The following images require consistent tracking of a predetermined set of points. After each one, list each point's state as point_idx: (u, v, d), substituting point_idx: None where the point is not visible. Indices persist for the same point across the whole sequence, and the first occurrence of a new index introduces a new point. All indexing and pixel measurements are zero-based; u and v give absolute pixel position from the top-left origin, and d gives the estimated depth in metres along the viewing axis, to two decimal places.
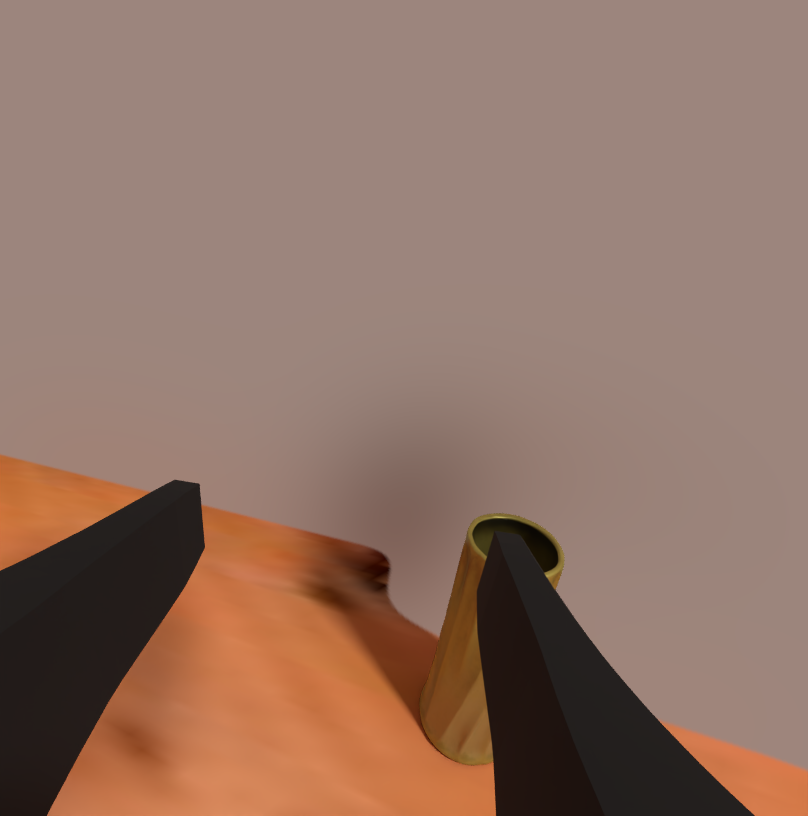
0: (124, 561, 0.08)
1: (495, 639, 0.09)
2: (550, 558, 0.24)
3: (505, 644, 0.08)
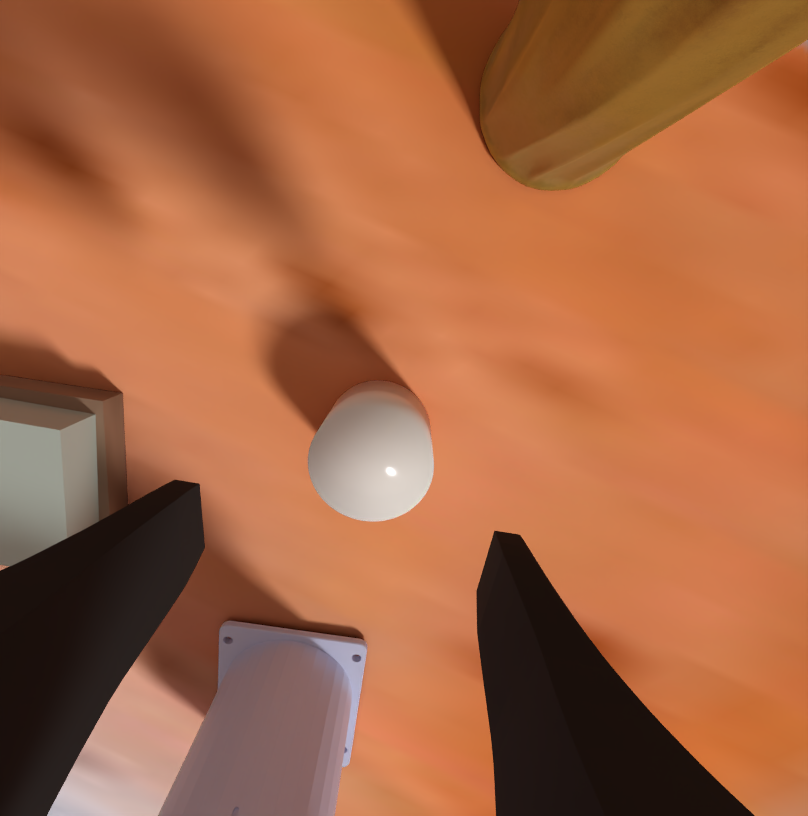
0: (124, 561, 0.08)
1: (495, 639, 0.09)
2: None
3: (505, 644, 0.08)
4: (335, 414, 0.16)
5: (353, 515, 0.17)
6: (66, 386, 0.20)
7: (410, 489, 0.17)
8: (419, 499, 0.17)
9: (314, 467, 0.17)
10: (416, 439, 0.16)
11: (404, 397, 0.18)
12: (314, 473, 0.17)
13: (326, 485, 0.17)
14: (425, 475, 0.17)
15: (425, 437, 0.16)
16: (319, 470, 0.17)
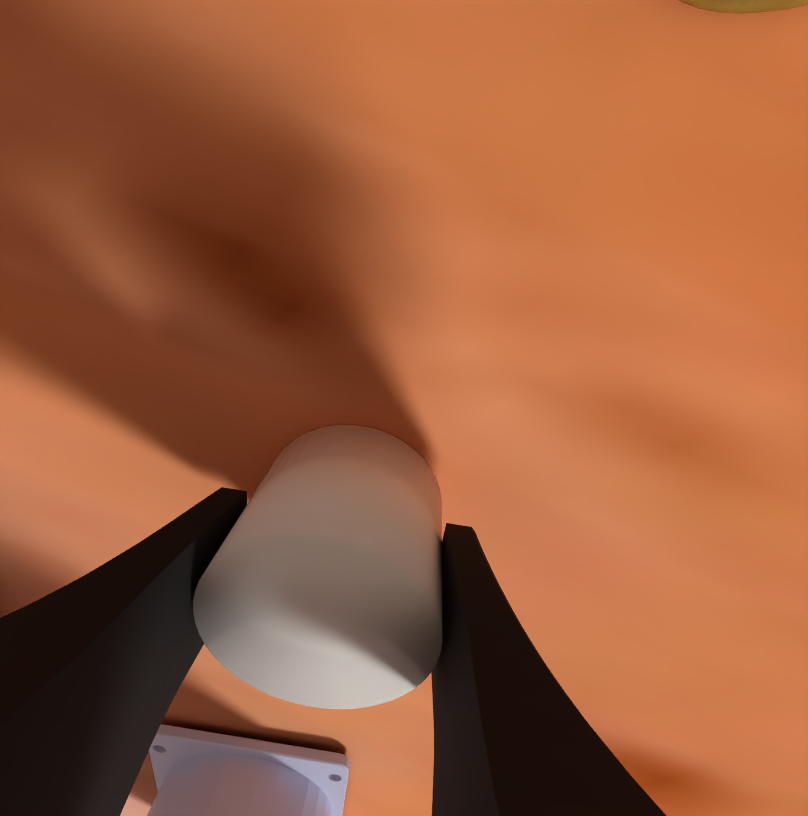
0: (185, 571, 0.08)
1: None
2: None
3: (447, 635, 0.08)
4: (236, 544, 0.08)
5: (292, 699, 0.09)
6: None
7: (396, 670, 0.09)
8: (414, 685, 0.09)
9: (209, 628, 0.09)
10: (406, 596, 0.08)
11: (390, 476, 0.09)
12: (210, 637, 0.09)
13: (236, 656, 0.09)
14: (425, 653, 0.08)
15: (425, 593, 0.08)
16: (219, 634, 0.09)
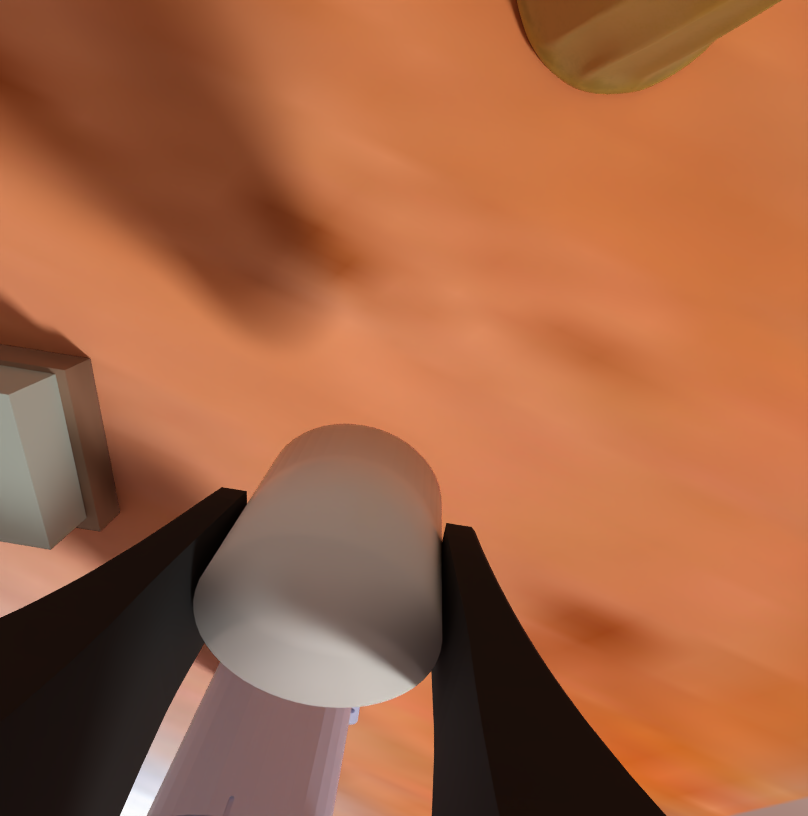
0: (184, 571, 0.08)
1: None
2: None
3: (447, 635, 0.08)
4: (236, 543, 0.08)
5: (292, 698, 0.09)
6: (26, 351, 0.17)
7: (396, 669, 0.09)
8: (414, 684, 0.09)
9: (209, 627, 0.09)
10: (406, 594, 0.08)
11: (390, 475, 0.09)
12: (211, 636, 0.09)
13: (236, 654, 0.09)
14: (425, 651, 0.08)
15: (425, 592, 0.08)
16: (219, 633, 0.09)
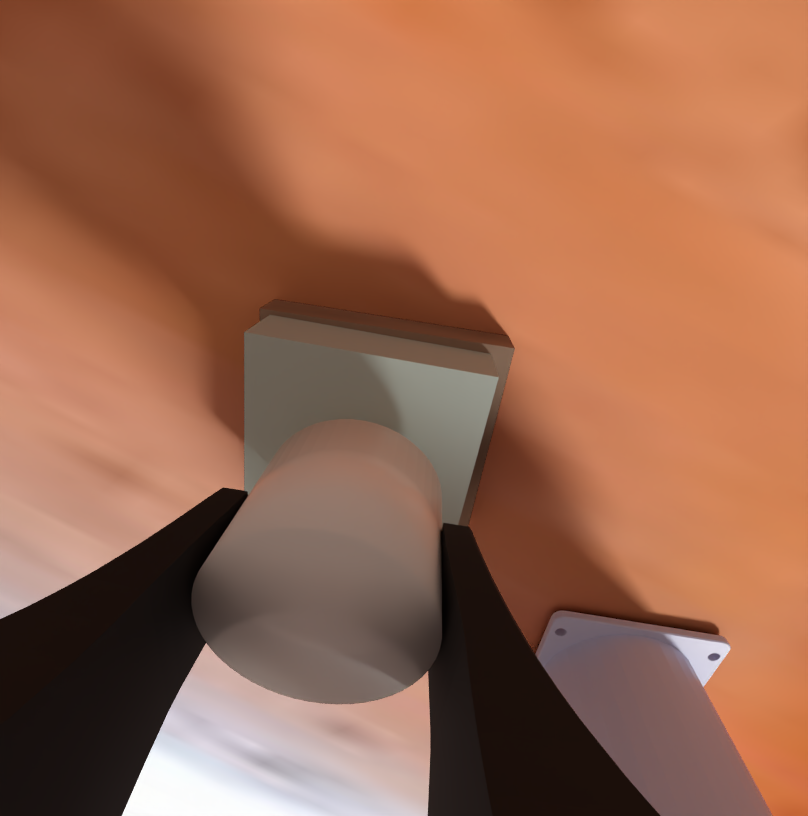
0: (186, 571, 0.08)
1: None
2: None
3: (443, 634, 0.08)
4: (236, 536, 0.08)
5: (289, 693, 0.09)
6: (438, 327, 0.14)
7: (395, 666, 0.09)
8: (412, 681, 0.09)
9: (207, 620, 0.08)
10: (407, 590, 0.08)
11: (392, 471, 0.09)
12: (208, 630, 0.09)
13: (234, 649, 0.09)
14: (424, 648, 0.08)
15: (426, 588, 0.08)
16: (217, 626, 0.08)
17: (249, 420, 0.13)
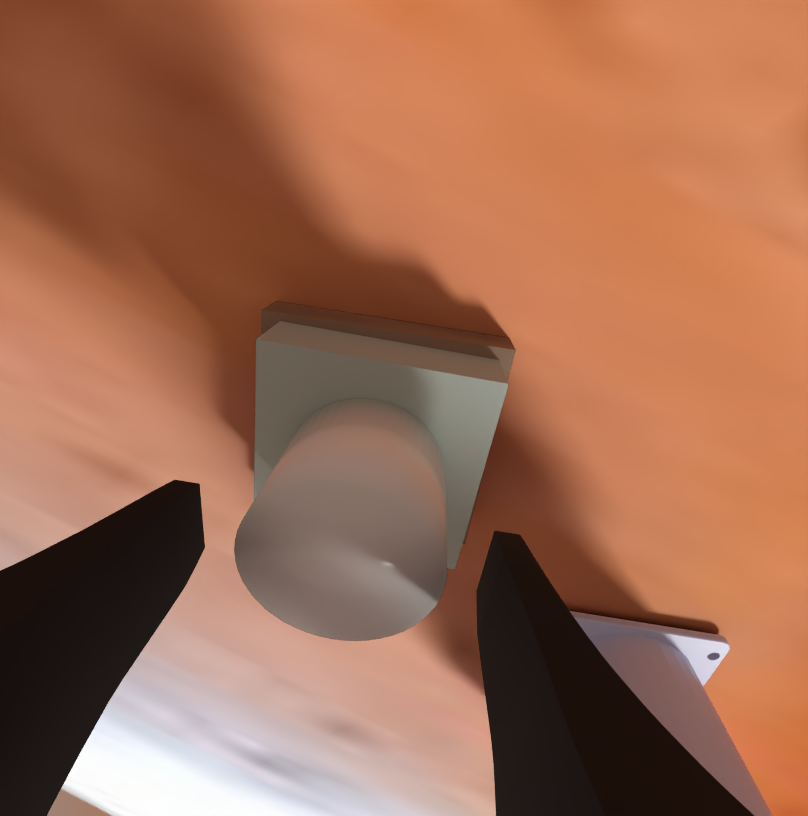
0: (124, 561, 0.08)
1: (495, 639, 0.09)
2: None
3: (505, 644, 0.08)
4: (275, 489, 0.09)
5: (315, 632, 0.11)
6: (439, 328, 0.14)
7: (406, 603, 0.10)
8: (421, 617, 0.10)
9: (247, 565, 0.10)
10: (418, 534, 0.09)
11: (402, 440, 0.11)
12: (247, 573, 0.10)
13: (268, 591, 0.10)
14: (432, 586, 0.10)
15: (433, 532, 0.09)
16: (255, 570, 0.10)
17: (260, 426, 0.13)
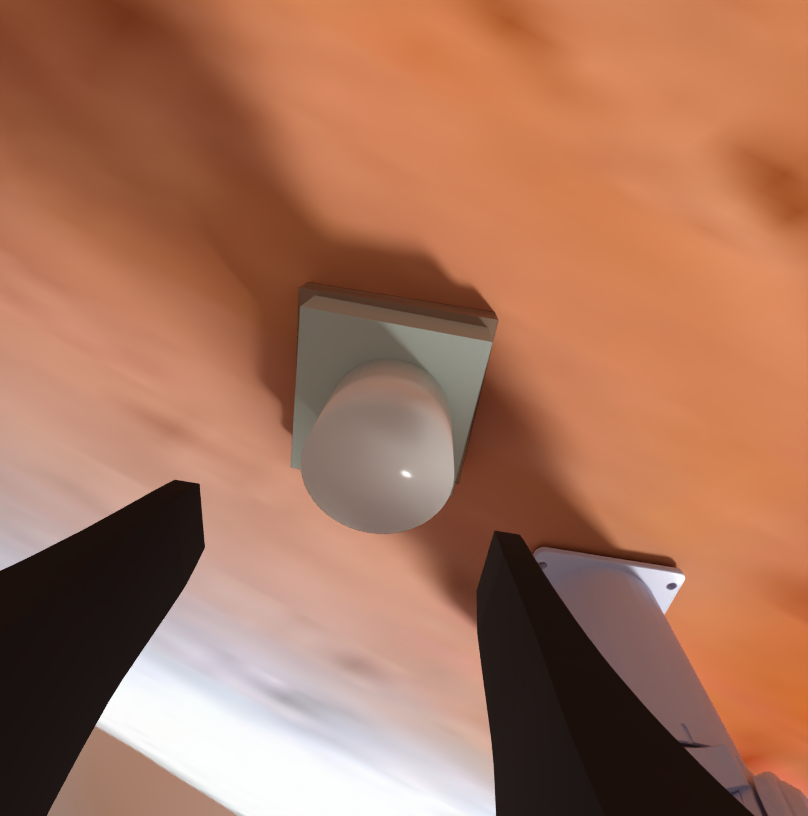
0: (124, 561, 0.08)
1: (495, 639, 0.09)
2: None
3: (505, 644, 0.08)
4: (333, 411, 0.13)
5: (356, 527, 0.14)
6: (438, 304, 0.18)
7: (424, 500, 0.14)
8: (435, 512, 0.14)
9: (308, 472, 0.14)
10: (433, 444, 0.13)
11: (420, 385, 0.15)
12: (309, 479, 0.14)
13: (323, 493, 0.14)
14: (443, 486, 0.14)
15: (445, 442, 0.13)
16: (315, 476, 0.14)
17: (300, 376, 0.17)
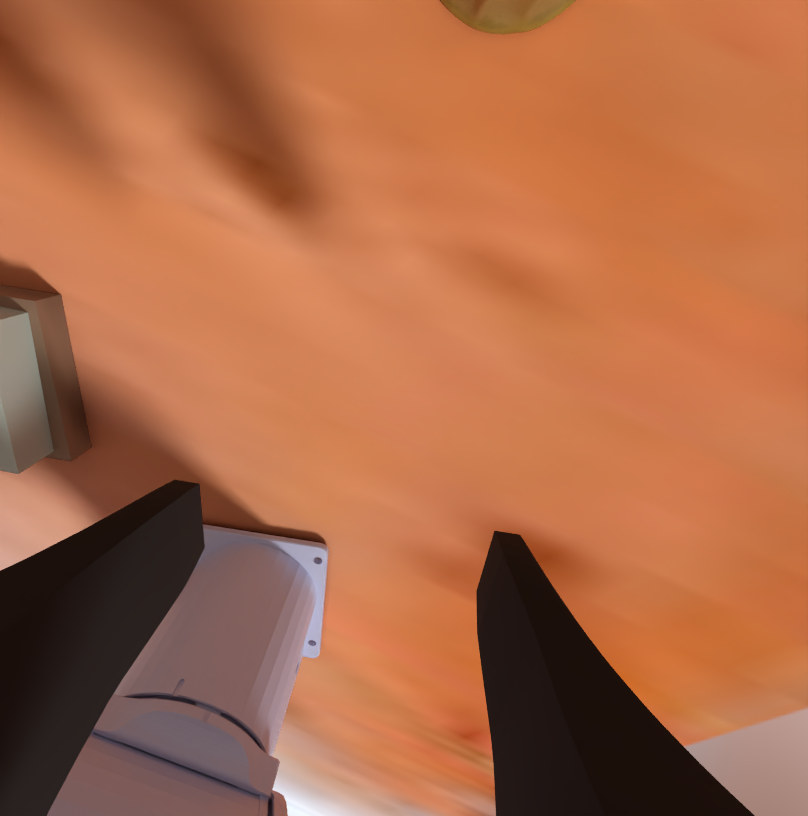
0: (124, 561, 0.08)
1: (495, 639, 0.09)
2: None
3: (505, 644, 0.08)
4: None
5: None
6: (1, 287, 0.19)
7: None
8: None
9: None
10: None
11: None
12: None
13: None
14: None
15: None
16: None
17: None
